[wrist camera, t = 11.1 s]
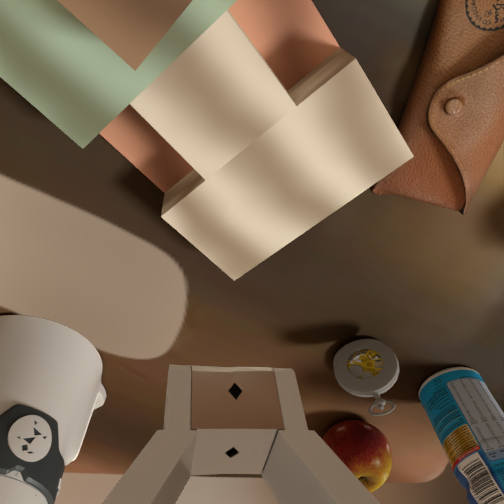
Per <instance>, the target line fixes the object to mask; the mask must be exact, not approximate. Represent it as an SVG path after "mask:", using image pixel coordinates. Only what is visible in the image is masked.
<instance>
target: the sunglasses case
mask: <svg viewBox="0 0 504 504" xmlns="http://www.w3.org/2000/svg"><path fill="white" fill-rule="evenodd" d="M398 131H399V132H400V134H401V136H402V137H403V139H404V141H405V142H406V144H407V146H408V147H409V149H410V151H411V152H412V154H413V156H414V157H413V158H411V159H410V160H408V161H407V162H405V163H404V164H403V165H401V166H400V167H398V168H397V169H395V170H394V171H392V172H391V173H390V174H388V175H387V176H385V177H384V178H382V179H381V180H379V181H378V182H377V183H375V184H374V186H373V189H372V192H373V193H375V194H377V195H381V194H394V195H399V196H402V197H407V198H410V199H415V200H418V201H421V202H425V203H429V204H433V205H437V206H441V207H444V208H449V209H452V210H455V211H459V212H460V213H461V214H462V215H464V214H465V213H466V211H467V209H468V206H469V204H470V202H471V200H472V198H473V196H474V194H475V193H476V191H477V189H478V187H479V185H480V184H481V182H482V180H483V178H484V177H485V175H486V173H487V171H488V169H489V167H490V165H491V163H492V162H493V160H494V158H495V156H496V154H497V152H498V150H499V148H500V146H501V144H502V142H503V140H504V0H438V5H437V9H436V13H435V17H434V21H433V24H432V27H431V30H430V34H429V37H428V40H427V43H426V47H425V50H424V54H423V56H422V59H421V62H420V65H419V68H418V71H417V74H416V77H415V79H414V83H413V86H412V89H411V91H410V95H409V98H408V100H407V104H406V107H405V109H404V112H403V115H402V117H401V120H400V123H399V126H398Z"/></svg>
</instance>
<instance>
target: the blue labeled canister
mask: <svg viewBox="0 0 504 504" xmlns="http://www.w3.org/2000/svg"><path fill="white" fill-rule="evenodd" d="M419 399H420V401H421V404H422V405H423V407H424V409H425V411H426V413H427V415H428V417H429V419H430V421H431V423H432V425H433V427H434V430H435V432H436V434H437V436H438V438H439V440H440V442H441V444H442V446H443V449H444V451H445V453H446V455H447V457H448V459H449V461H450V463H451V466H452V470H453V473H454V475H455V477H456V479H457V481H458V482H459V483H460V484H461V485H462V486H463V487H464V488H465V489H466V490H467V499H468V502H469V503H470V504H504V413H503V412H502V410H501V408H500V407H499V405H498V404H497V402H496V401H495V399H494V398H493V396H492V395H491V393H490V391H489V390H488V388H487V386H486V384H485V382H484V381H483V379H482V377H481V376H480V374H479V373H478V372H476V371H475V370H473V369H471V368H467V367H452V368H448V369H444V370H442V371H439V372H437V373H435V374H433V375H432V376H430V377H429V378H428V379H426V380H425V381H424V383H423V384H422V385H421V387H420V389H419Z"/></svg>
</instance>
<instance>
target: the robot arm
mask: <svg viewBox="0 0 504 504" xmlns="http://www.w3.org/2000/svg"><path fill="white" fill-rule="evenodd" d="M101 375H102V361H101V358H100V355H99V353H98V352H97V350H96V349H95V347H94V346H93V345H92V344H91V343H90V342H89V341H88V340H87V339H86V338H85V337H83V336H82V335H81V334H79V333H78V332H76V331H74V330H73V329H71V328H69V327H67V326H65V325H62V324H60V323H57V322H54V321H51V320H48V319H44V318H39V317H33V316H25V315H4V316H0V504H54V502H55V499H56V498H57V496H58V494H59V490H60V487H61V480H62V475H63V472H64V468H65V466H66V465H67V464H69V463H70V462H71V461H74V460H75V459H76V457H77V456H78V453H79V451H80V448H81V445H82V442H83V439H84V436H85V433H86V430H87V427H88V424H89V421H90V418H91V415H92V412H93V410H94V409H96V408H98V407H100V406H102V405H103V404H104V401H105V399H106V391H105V389H104V387H103V385H102V383H101ZM207 474H262V477H263V479H264V480H265V482H266V483H267V485H268V487H269V488H270V490H271V491H272V493H273V494H274V496H275V497H276V499H277V501H278V502H279V504H380V503H379V502H378V501H377V500H376V499H375V498H374V497H373V495H372V494H371V493H370V492H369V491H368V490H367V489H366V487H365V486H364V485H363V484H362V483H361V482H360V481H359V480H358V479H357V477H356V476H355V475H354V474H353V473H352V472H351V471H350V470H349V469H348V467H347V466H346V465H345V464H344V463H343V462H342V461H341V460H340V459H339V457H338V456H337V455H336V454H335V453H334V452H333V451H332V450H331V448H330V447H329V446H328V445H327V444H326V443H325V442H324V441H323V440H322V438H321V437H320V436H319V435H318V434H317V433H316V432H315V431H314V430H308V427H307V423H306V418H305V414H304V410H303V405H302V401H301V397H300V393H299V388H298V384H297V380H296V376H295V372H294V371H293V369H287V368H265V367H232V368H227V367H209V366H191V365H169V371H168V382H167V393H166V404H165V415H164V428H163V430H157V431H156V433H155V434H154V435H153V437H152V438H151V439H150V441H149V442H148V443H147V445H146V446H145V447H144V449H143V450H142V451H141V453H140V454H139V455H138V457H137V458H136V459H135V461H134V462H133V463H132V465H131V466H130V467H129V468H128V470H127V471H126V472H125V474H124V475H123V477H122V478H121V479H120V480H119V482H118V483H117V484H116V486H115V487H114V488H113V490H112V491H111V492H110V494H109V495H108V496H107V498H106V499H105V500H104V502H103V503H102V504H175V503H176V501H177V500H178V498H179V496H180V494H181V492H182V491H183V489H184V487H185V485H186V484H187V482H188V480H189V478H190V475H207Z"/></svg>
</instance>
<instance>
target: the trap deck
mask: <svg viewBox="0 0 504 504" xmlns="http://www.w3.org/2000/svg"><path fill="white" fill-rule="evenodd" d="M0 77H1V78H2V79H3V80H4V81H6V82H7V83H8V84H9V85H10V86H11V87H12V88H14V89H15V90H16V91H17V92H18V93H19V94H20V95H22V96H23V97H24V98H25V99H26V100H27V101H28V102H30V103H31V104H32V105H33V106H34V107H35V108H37V109H38V110H39V111H40V112H41V113H42V114H43V115H45V116H46V117H47V118H48V119H49V120H50V121H51V122H53V123H54V124H55V125H56V126H57V127H58V128H60V129H61V130H62V131H63V132H64V133H65V134H66V135H68V136H69V137H70V138H71V139H72V140H73V141H74V142H76V143H77V144H78V145H79V146H80V147H81V148H82V149H83V148H84V147H85V146H86V145H87V144H88V143H89V142H90V141H92V140H93V139H94V138H95V137H96V136H97V135H98V134H100V135H101V136H103V137H104V138H105V139H106V140H107V141H108V142H109V143H110V144H111V145H112V146H114V147H115V148H116V149H117V150H118V151H119V152H120V153H121V154H122V155H123V156H124V157H126V158H127V159H128V160H129V161H130V162H131V163H132V164H133V165H134V166H135V167H136V168H138V169H139V170H140V171H141V172H142V173H143V174H144V175H145V176H146V177H147V178H148V179H150V180H151V181H152V182H153V183H154V184H155V185H156V186H157V187H158V188H159V189H160V190H162V191H163V192H164V193H165V194H164V200H163V207H162V213H161V217H162V218H163V219H164V220H165V221H166V222H168V223H169V224H170V225H171V226H172V227H173V228H174V229H176V230H177V231H178V232H179V233H180V234H181V235H182V236H184V237H185V238H186V239H187V240H188V241H189V242H190V243H192V244H193V245H194V246H195V247H196V248H197V249H199V250H200V251H201V252H202V253H203V254H204V255H205V256H207V257H208V258H209V259H210V260H211V261H212V262H213V263H215V264H216V265H217V266H218V267H219V268H220V269H222V270H223V271H224V272H225V273H226V274H227V275H228V276H230V277H231V278H232V279H233V280H234V281H235V280H236V279H237V278H239V277H240V276H242V275H243V274H245V273H246V272H248V271H249V270H251V269H252V268H253V267H255V266H256V265H258V264H259V263H261V262H262V261H264V260H265V259H266V258H268V257H269V256H271V255H272V254H274V253H275V252H277V251H278V250H279V249H281V248H282V247H284V246H285V245H287V244H288V243H290V242H291V241H293V240H294V239H295V238H297V237H298V236H300V235H301V234H303V233H304V232H306V231H307V230H308V229H310V228H311V227H313V226H314V225H316V224H317V223H319V222H320V221H321V220H323V219H324V218H326V217H327V216H329V215H330V214H332V213H333V212H335V211H336V210H337V209H339V208H340V207H342V206H343V205H345V204H346V203H348V202H349V201H350V200H352V199H353V198H355V197H356V196H358V195H359V194H361V193H362V192H363V191H365V190H366V189H368V188H369V187H371V186H372V185H374V184H375V183H377V182H378V181H379V180H381V179H382V178H384V177H385V176H387V175H388V174H390V173H391V172H392V171H394V170H395V169H397V168H398V167H400V166H401V165H403V164H404V163H405V162H407V161H408V160H410V159H411V158H413V157H414V156H413V154H412V152H411V151H410V149H409V147H408V146H407V144H406V142H405V141H404V139H403V137H402V136H401V134H400V132H399V131H398V129H397V127H396V125H395V124H394V122H393V120H392V119H391V117H390V115H389V114H388V112H387V110H386V109H385V107H384V105H383V104H382V102H381V100H380V99H379V97H378V95H377V93H376V92H375V90H374V88H373V87H372V85H371V83H370V82H369V80H368V78H367V77H366V75H365V73H364V72H363V70H362V68H361V67H360V65H359V63H358V61H357V60H356V58H354V57H353V56H351V55H350V54H349V53H347V52H346V51H344V50H343V49H341V48H340V47H339V45H338V43H337V42H336V40H335V39H334V37H333V35H332V34H331V32H330V30H329V29H328V27H327V25H326V24H325V22H324V20H323V19H322V17H321V15H320V14H319V12H318V11H317V9H316V7H315V6H314V4H313V2H312V1H311V0H192V2H191V3H190V4H189V5H188V7H187V8H186V9H185V10H184V12H183V13H182V14H181V15H180V17H179V18H178V19H177V20H176V21H175V23H174V24H173V25H172V26H171V28H170V29H169V30H168V31H167V33H166V34H165V35H164V36H163V38H162V39H161V40H160V41H159V42H158V44H157V45H156V46H155V47H154V49H153V50H152V51H151V52H150V54H149V55H148V56H147V57H146V59H145V60H144V61H143V62H142V63H141V65H140V66H139V67H138V68H137V70H136V71H135V70H134V69H132V68H131V67H130V66H129V65H128V64H127V63H126V62H125V61H124V60H123V59H121V58H120V57H119V56H118V55H117V54H116V53H115V52H114V51H113V50H112V49H110V48H109V47H108V46H107V45H106V44H105V43H104V42H103V41H102V40H100V39H99V38H98V37H97V36H96V35H95V34H94V33H93V32H92V31H91V30H89V29H88V28H87V27H86V26H85V25H84V24H83V23H82V22H81V21H80V20H78V19H77V18H76V17H75V16H74V15H73V14H72V13H71V12H70V11H68V10H67V9H66V8H65V7H64V6H63V5H62V4H61V3H60V2H59V1H57V0H0Z"/></svg>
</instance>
